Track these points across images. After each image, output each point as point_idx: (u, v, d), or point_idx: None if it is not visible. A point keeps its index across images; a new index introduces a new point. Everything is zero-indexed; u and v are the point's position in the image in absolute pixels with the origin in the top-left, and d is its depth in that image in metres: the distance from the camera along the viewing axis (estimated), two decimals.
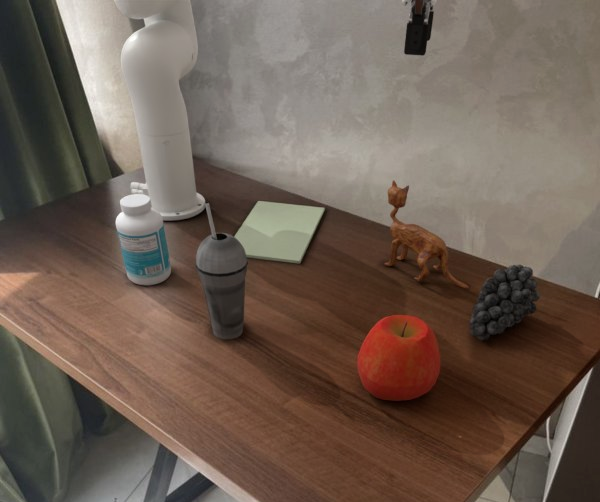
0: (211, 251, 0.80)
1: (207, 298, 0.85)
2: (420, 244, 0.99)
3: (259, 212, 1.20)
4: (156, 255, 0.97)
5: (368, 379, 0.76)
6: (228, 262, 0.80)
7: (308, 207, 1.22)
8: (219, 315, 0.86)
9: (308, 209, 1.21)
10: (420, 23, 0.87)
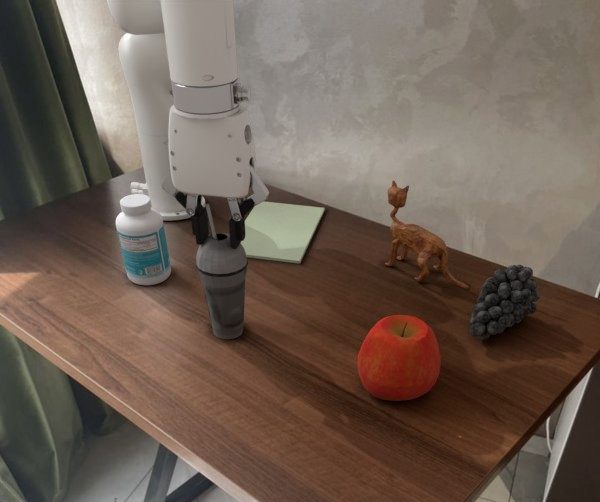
0: (212, 251, 0.80)
1: (207, 298, 0.85)
2: (420, 244, 0.99)
3: (259, 212, 1.20)
4: (156, 255, 0.97)
5: (368, 379, 0.76)
6: (228, 262, 0.80)
7: (308, 207, 1.22)
8: (219, 315, 0.86)
9: (308, 209, 1.21)
10: None
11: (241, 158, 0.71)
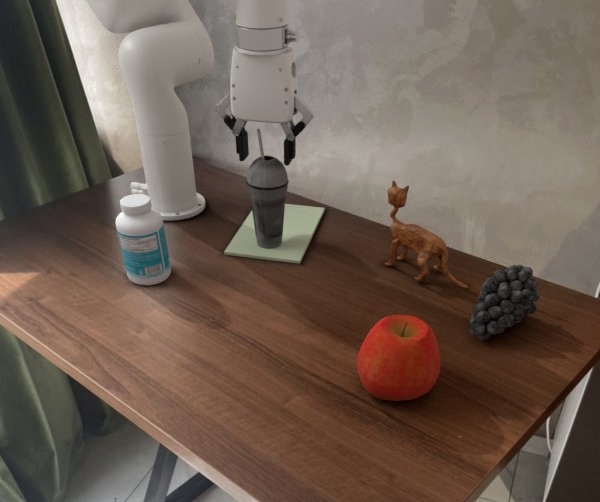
0: (261, 168, 0.99)
1: (254, 211, 1.05)
2: (420, 244, 0.99)
3: None
4: (156, 255, 0.97)
5: (368, 379, 0.76)
6: (274, 178, 0.99)
7: (308, 207, 1.22)
8: (264, 226, 1.05)
9: (308, 209, 1.21)
10: None
11: (288, 88, 0.90)
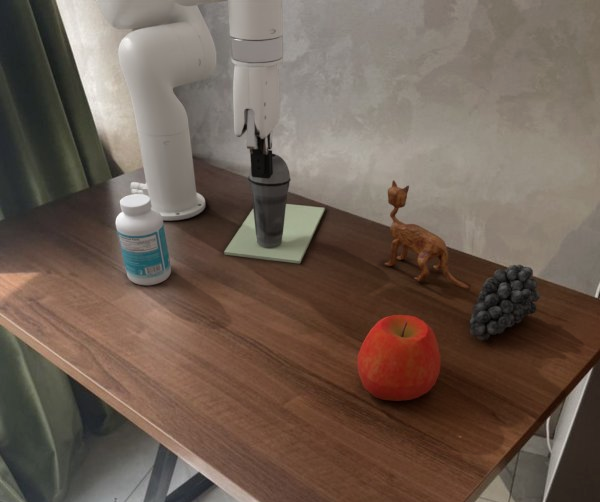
0: None
1: (255, 208, 1.05)
2: (420, 244, 0.99)
3: None
4: (156, 255, 0.97)
5: (368, 379, 0.76)
6: (276, 174, 1.00)
7: (308, 207, 1.22)
8: (264, 224, 1.05)
9: (308, 209, 1.21)
10: (260, 153, 0.95)
11: (279, 87, 0.93)
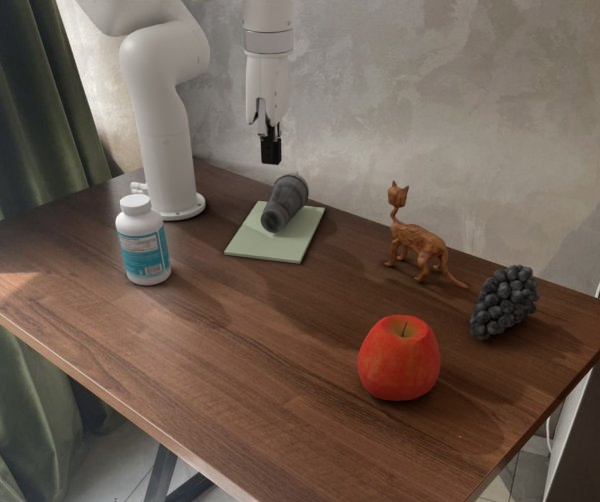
0: None
1: (273, 192, 1.13)
2: (420, 244, 0.99)
3: (259, 212, 1.20)
4: (156, 255, 0.97)
5: (368, 379, 0.76)
6: None
7: (308, 207, 1.22)
8: (278, 197, 1.11)
9: (308, 209, 1.21)
10: (270, 140, 1.00)
11: None
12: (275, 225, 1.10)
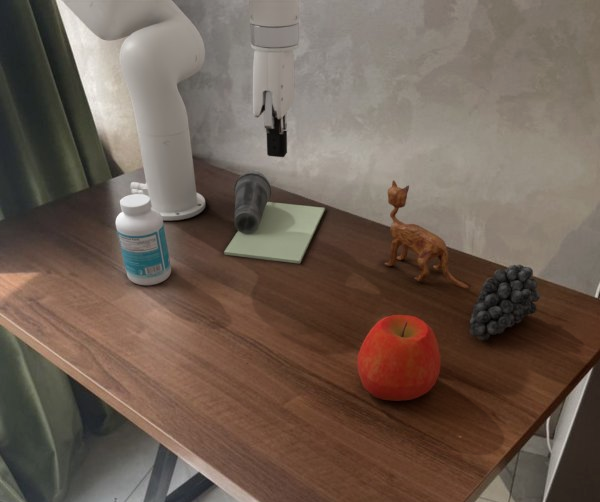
0: None
1: None
2: (420, 244, 0.99)
3: None
4: (156, 255, 0.97)
5: (368, 379, 0.76)
6: None
7: (308, 207, 1.22)
8: None
9: (308, 209, 1.21)
10: (276, 133, 1.02)
11: None
12: (247, 219, 1.10)
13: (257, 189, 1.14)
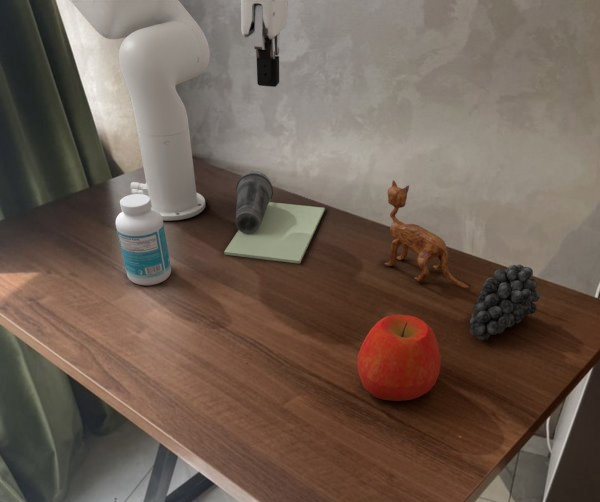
0: None
1: None
2: (420, 244, 0.99)
3: None
4: (156, 255, 0.97)
5: (368, 379, 0.76)
6: None
7: (308, 207, 1.22)
8: None
9: (308, 209, 1.21)
10: (267, 57, 0.92)
11: None
12: (248, 219, 1.10)
13: (260, 190, 1.14)
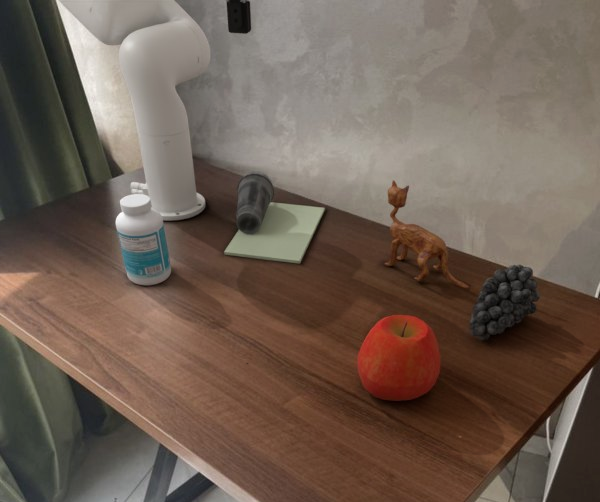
0: None
1: None
2: (420, 244, 0.99)
3: None
4: (156, 255, 0.97)
5: (368, 379, 0.76)
6: None
7: (308, 207, 1.22)
8: None
9: (308, 209, 1.21)
10: (237, 1, 0.89)
11: None
12: (249, 220, 1.10)
13: (261, 191, 1.14)
